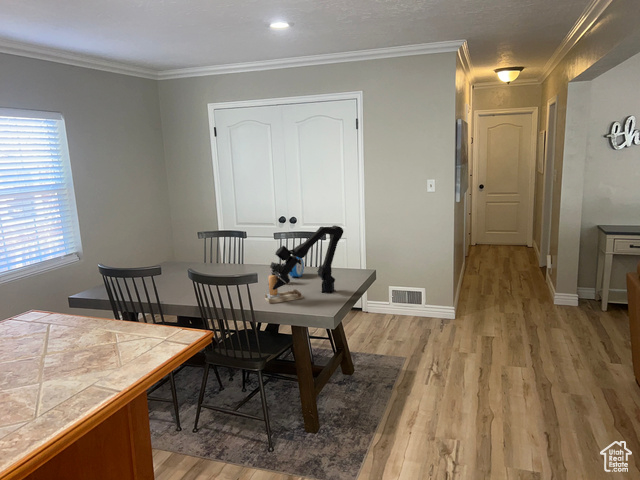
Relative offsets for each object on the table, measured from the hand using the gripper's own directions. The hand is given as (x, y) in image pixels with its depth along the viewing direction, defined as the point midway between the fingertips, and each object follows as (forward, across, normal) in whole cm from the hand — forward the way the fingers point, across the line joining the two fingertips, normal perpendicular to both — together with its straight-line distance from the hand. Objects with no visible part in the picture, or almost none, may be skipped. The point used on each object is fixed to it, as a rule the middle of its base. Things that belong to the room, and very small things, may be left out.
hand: (270, 287), depth 260 cm
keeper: (+3, 0, +5) cm, 6 cm away
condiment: (-6, -31, +17) cm, 36 cm away
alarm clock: (-15, -44, +26) cm, 53 cm away
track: (0, 0, +10) cm, 11 cm away
